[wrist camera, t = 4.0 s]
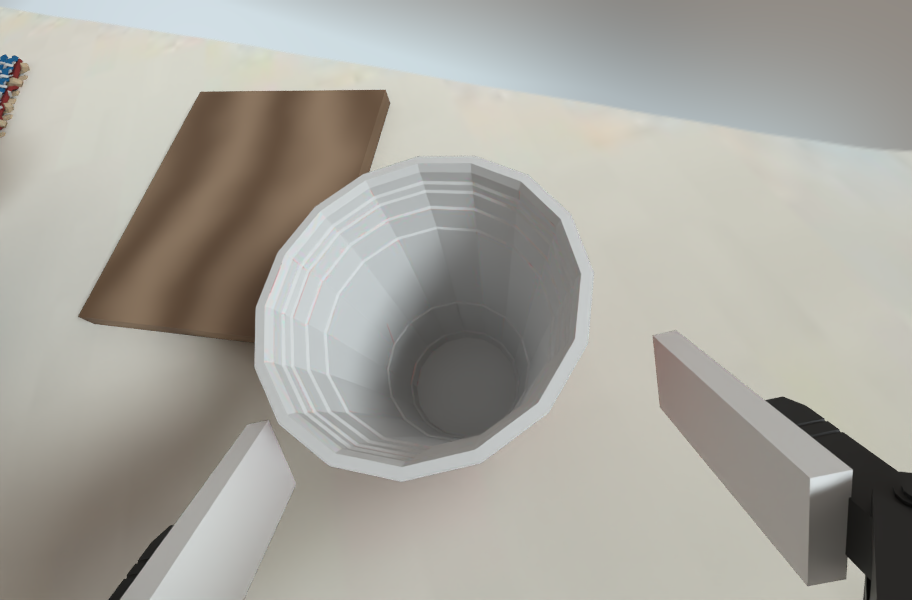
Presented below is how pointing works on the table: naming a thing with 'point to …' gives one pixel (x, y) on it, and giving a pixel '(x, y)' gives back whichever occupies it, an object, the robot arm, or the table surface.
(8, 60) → the woven mat
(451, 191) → the plastic cup
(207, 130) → the walnut board
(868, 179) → the table surface
